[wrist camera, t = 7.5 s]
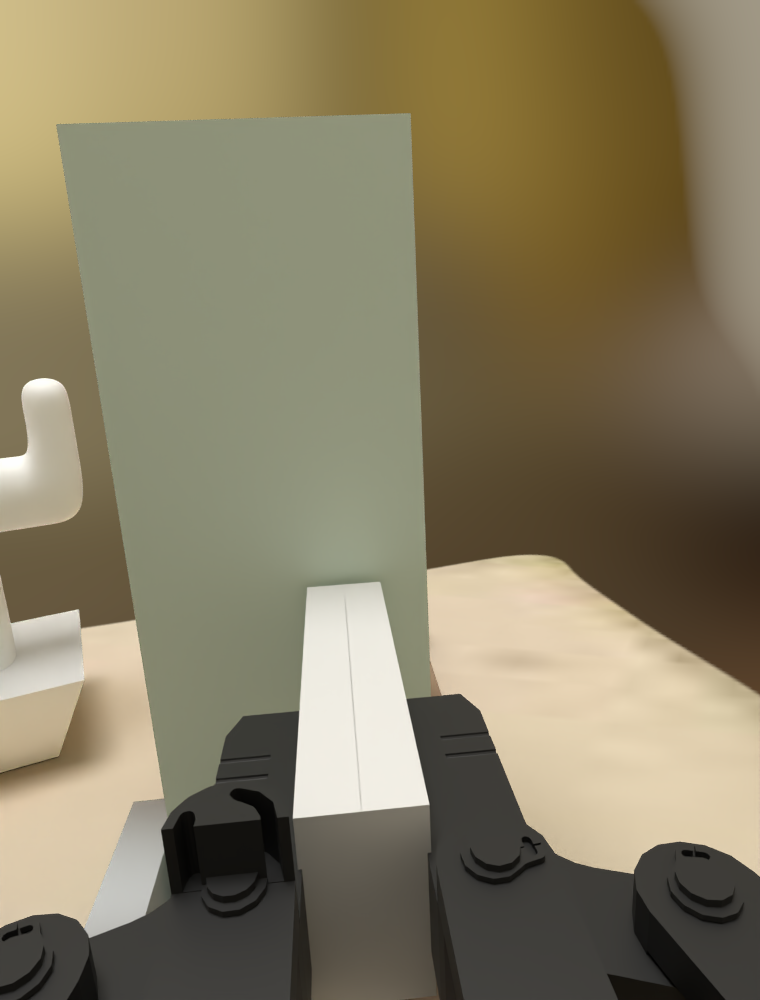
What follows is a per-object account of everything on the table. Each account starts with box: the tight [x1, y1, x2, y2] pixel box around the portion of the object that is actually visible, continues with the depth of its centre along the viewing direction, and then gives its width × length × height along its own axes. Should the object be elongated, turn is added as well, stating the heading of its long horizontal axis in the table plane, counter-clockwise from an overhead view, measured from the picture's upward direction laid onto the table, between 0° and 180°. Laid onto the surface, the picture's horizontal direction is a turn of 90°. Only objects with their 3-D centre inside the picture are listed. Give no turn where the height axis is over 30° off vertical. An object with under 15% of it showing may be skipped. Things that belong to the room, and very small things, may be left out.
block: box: [56, 113, 431, 818], centre depth 17 cm, size 6×6×18 cm
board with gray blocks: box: [84, 662, 441, 1000], centre depth 19 cm, size 30×10×4 cm, turn 5°
